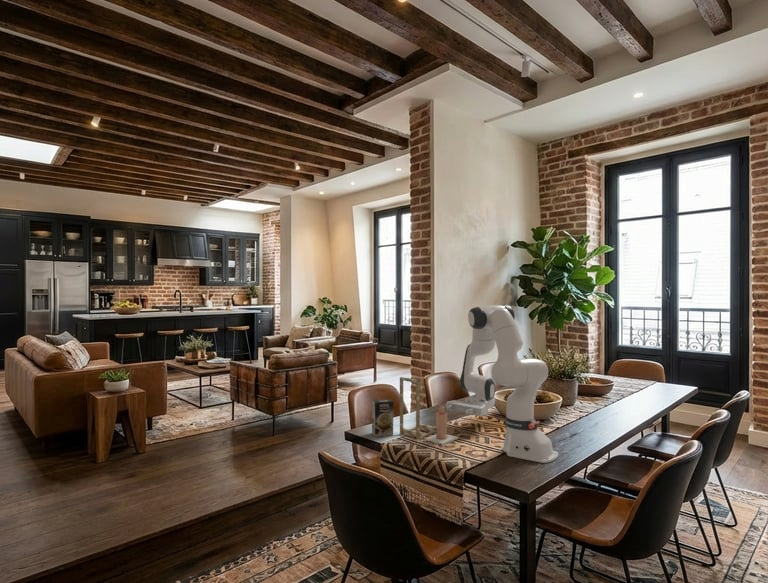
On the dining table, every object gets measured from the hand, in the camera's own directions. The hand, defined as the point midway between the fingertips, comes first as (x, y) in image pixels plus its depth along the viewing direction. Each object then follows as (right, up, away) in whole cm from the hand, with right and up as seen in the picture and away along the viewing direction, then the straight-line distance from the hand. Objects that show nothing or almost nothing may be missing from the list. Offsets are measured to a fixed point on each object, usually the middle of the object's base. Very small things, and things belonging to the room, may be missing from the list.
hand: (456, 410), depth 221 cm
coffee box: (-35, -11, -1) cm, 37 cm away
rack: (-18, -11, +1) cm, 21 cm away
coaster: (-8, -11, -9) cm, 16 cm away
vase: (-8, -10, -9) cm, 16 cm away
